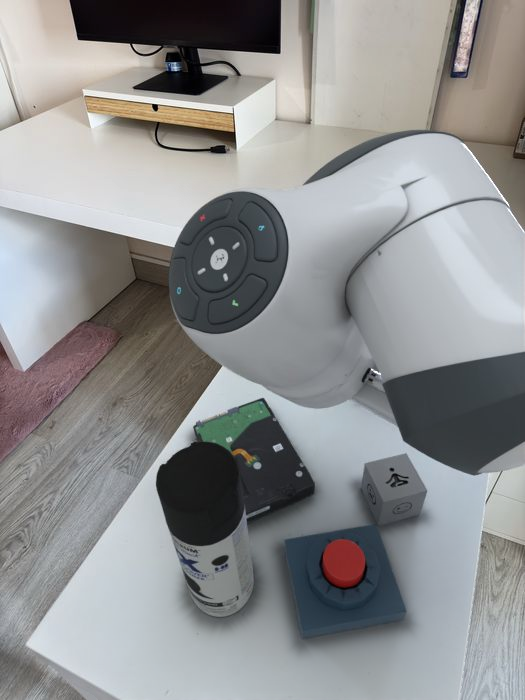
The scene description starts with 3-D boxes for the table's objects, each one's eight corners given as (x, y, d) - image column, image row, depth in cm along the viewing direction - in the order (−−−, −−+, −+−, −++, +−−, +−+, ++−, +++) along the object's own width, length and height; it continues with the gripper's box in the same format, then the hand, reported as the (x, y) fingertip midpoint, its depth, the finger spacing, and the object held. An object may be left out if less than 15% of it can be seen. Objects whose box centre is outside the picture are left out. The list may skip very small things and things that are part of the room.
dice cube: (378, 525, 56) (383, 502, 53) (360, 487, 60) (364, 463, 56) (419, 514, 57) (427, 490, 53) (400, 477, 60) (406, 453, 57)
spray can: (177, 582, 52) (136, 473, 39) (227, 539, 56) (205, 425, 42) (217, 633, 49) (186, 532, 35) (268, 584, 52) (258, 474, 38)
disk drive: (316, 495, 59) (264, 408, 69) (317, 482, 57) (263, 395, 67) (235, 531, 56) (192, 435, 66) (233, 519, 55) (189, 422, 64)
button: (356, 544, 51) (358, 535, 50) (369, 584, 48) (370, 576, 47) (318, 551, 51) (318, 542, 49) (328, 591, 48) (328, 583, 46)
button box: (374, 533, 55) (378, 515, 53) (403, 620, 49) (409, 603, 46) (284, 549, 55) (284, 531, 52) (302, 639, 48) (302, 623, 45)
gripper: (469, 374, 33) (469, 406, 45) (232, 262, 42) (286, 314, 54) (421, 457, 33) (434, 467, 45) (194, 327, 42) (257, 364, 54)
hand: (352, 382), depth 50 cm, fingers open, 8 cm apart
